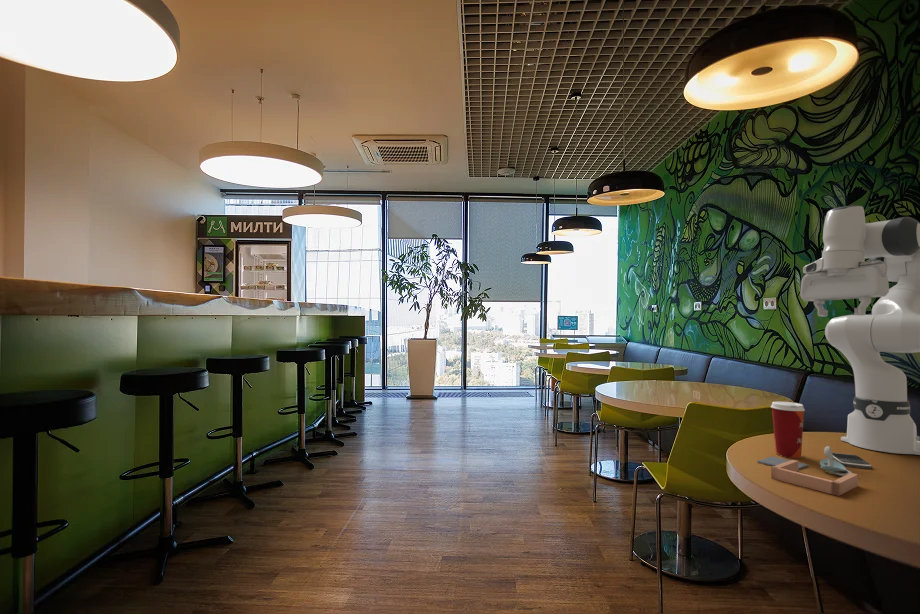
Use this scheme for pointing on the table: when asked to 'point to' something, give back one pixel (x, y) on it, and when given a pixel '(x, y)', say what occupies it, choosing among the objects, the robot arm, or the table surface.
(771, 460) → the gray tile
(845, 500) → the table surface
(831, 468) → the pacifier
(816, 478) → the pink u-shaped bracket
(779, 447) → the paper cup
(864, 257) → the robot arm
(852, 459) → the cell phone
